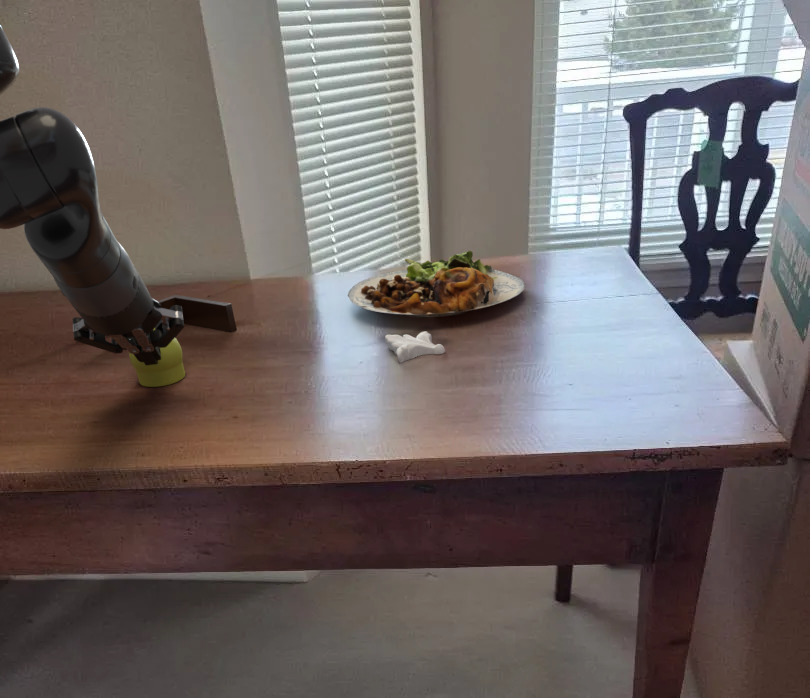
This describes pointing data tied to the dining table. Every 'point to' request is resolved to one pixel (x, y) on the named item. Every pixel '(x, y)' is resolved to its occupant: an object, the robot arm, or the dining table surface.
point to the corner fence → (203, 312)
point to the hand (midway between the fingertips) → (151, 358)
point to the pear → (161, 367)
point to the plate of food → (436, 288)
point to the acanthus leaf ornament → (413, 346)
